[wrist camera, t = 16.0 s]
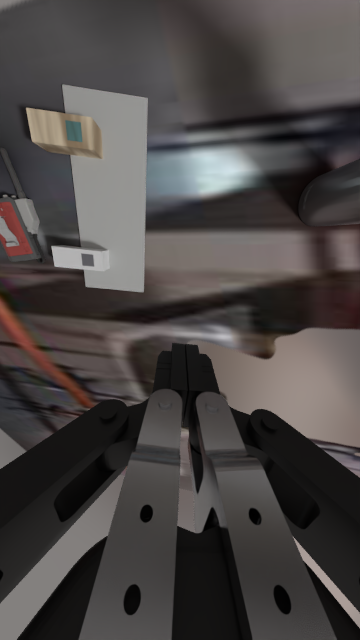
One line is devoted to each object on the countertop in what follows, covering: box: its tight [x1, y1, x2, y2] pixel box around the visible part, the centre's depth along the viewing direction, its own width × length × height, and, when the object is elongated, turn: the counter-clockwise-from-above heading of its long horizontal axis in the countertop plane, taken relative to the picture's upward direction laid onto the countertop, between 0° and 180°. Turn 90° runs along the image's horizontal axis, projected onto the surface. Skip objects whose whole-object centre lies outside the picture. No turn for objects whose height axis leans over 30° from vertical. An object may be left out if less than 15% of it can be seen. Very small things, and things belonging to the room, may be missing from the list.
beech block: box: [26, 108, 103, 159], centre depth 31 cm, size 4×4×10 cm
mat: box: [62, 85, 148, 292], centre depth 37 cm, size 14×34×1 cm, turn 174°
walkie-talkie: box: [0, 148, 45, 263], centre depth 36 cm, size 9×4×20 cm
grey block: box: [51, 245, 110, 271], centre depth 39 cm, size 4×4×10 cm
